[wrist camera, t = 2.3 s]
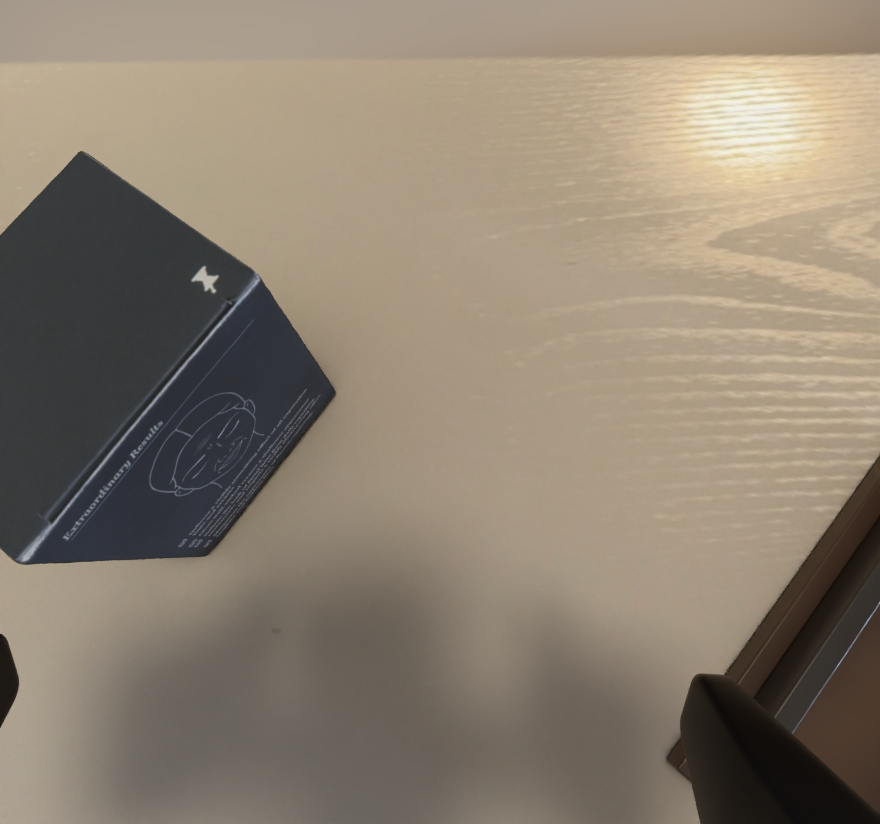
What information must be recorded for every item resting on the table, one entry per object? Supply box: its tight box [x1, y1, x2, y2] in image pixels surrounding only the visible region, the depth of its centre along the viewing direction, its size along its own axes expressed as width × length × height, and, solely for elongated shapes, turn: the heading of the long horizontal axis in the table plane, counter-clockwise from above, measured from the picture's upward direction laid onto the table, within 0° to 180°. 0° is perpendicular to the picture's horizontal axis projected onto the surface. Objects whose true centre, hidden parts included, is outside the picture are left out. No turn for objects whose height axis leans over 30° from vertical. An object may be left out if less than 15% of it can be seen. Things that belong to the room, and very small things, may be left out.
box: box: [0, 151, 335, 565], centre depth 18 cm, size 8×6×11 cm
